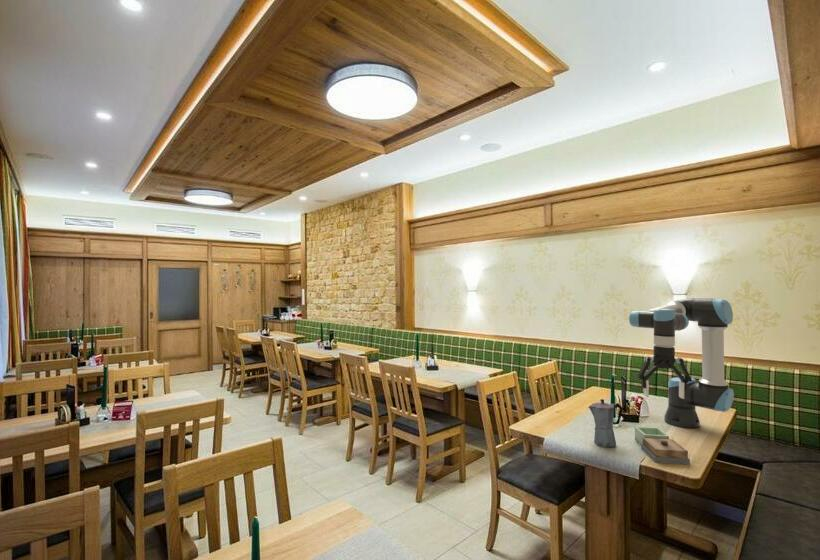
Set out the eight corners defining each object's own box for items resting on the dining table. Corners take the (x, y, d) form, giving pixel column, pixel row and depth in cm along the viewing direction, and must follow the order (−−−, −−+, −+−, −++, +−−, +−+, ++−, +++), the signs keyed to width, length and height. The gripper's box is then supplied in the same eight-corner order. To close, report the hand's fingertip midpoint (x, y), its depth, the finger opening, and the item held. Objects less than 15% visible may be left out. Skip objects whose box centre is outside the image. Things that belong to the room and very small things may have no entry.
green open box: (658, 440, 183) (658, 427, 183) (669, 450, 173) (669, 436, 173) (634, 439, 184) (634, 426, 184) (644, 448, 174) (644, 434, 174)
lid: (672, 446, 172) (672, 436, 172) (687, 458, 160) (687, 447, 160) (642, 444, 174) (642, 434, 174) (655, 456, 162) (655, 445, 162)
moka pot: (583, 440, 184) (583, 396, 184) (615, 439, 185) (615, 395, 185) (594, 448, 174) (594, 402, 174) (628, 447, 175) (628, 402, 175)
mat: (673, 450, 172) (673, 446, 172) (689, 464, 159) (689, 459, 159) (641, 448, 174) (641, 444, 174) (654, 462, 161) (654, 457, 161)
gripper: (691, 345, 169) (691, 396, 169) (628, 343, 172) (628, 392, 172) (701, 348, 161) (701, 401, 161) (635, 346, 165) (635, 397, 165)
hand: (663, 397), depth 167 cm, fingers open, 13 cm apart
